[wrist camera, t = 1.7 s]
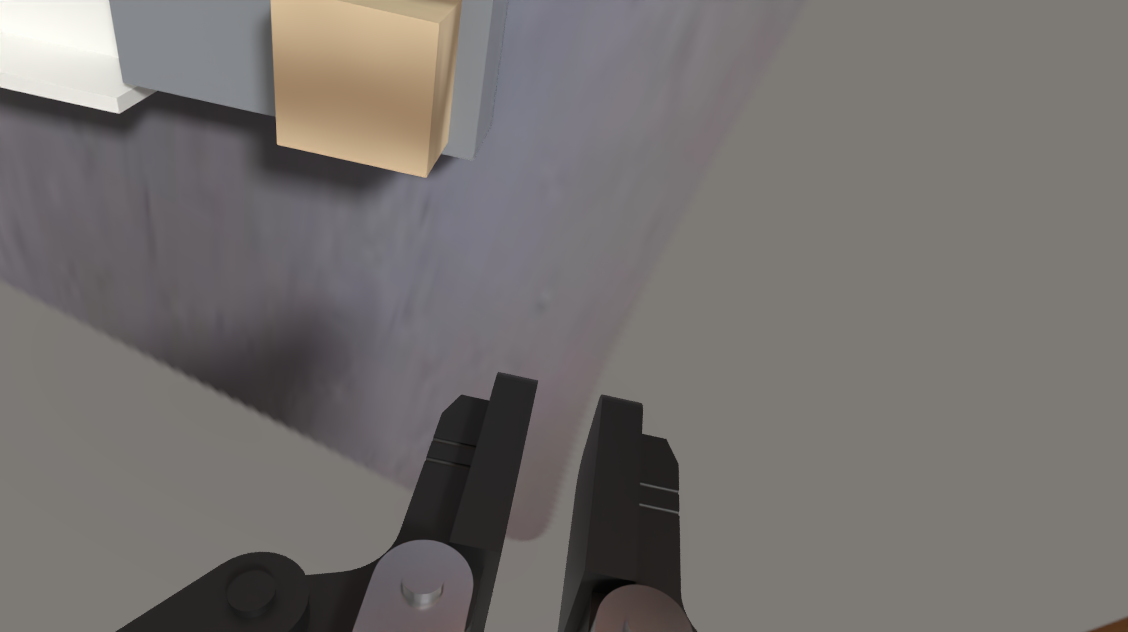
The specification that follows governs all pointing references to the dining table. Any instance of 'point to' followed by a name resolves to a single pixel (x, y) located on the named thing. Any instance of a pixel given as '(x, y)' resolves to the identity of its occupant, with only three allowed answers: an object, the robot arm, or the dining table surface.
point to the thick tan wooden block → (366, 79)
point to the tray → (64, 53)
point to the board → (245, 57)
